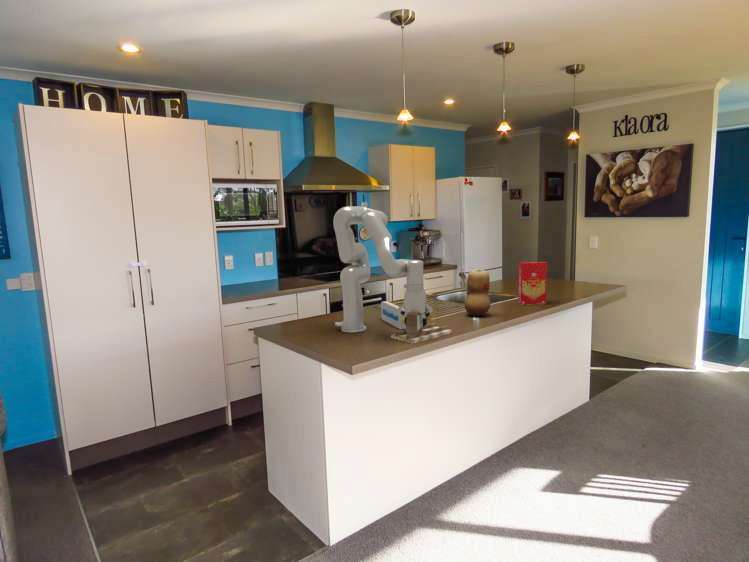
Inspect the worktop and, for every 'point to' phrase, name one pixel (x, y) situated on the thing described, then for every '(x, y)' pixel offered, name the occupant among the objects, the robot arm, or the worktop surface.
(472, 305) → the tan lobed piece
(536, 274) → the food packaging
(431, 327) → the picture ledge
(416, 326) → the brown rectangular block
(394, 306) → the white and blue box
